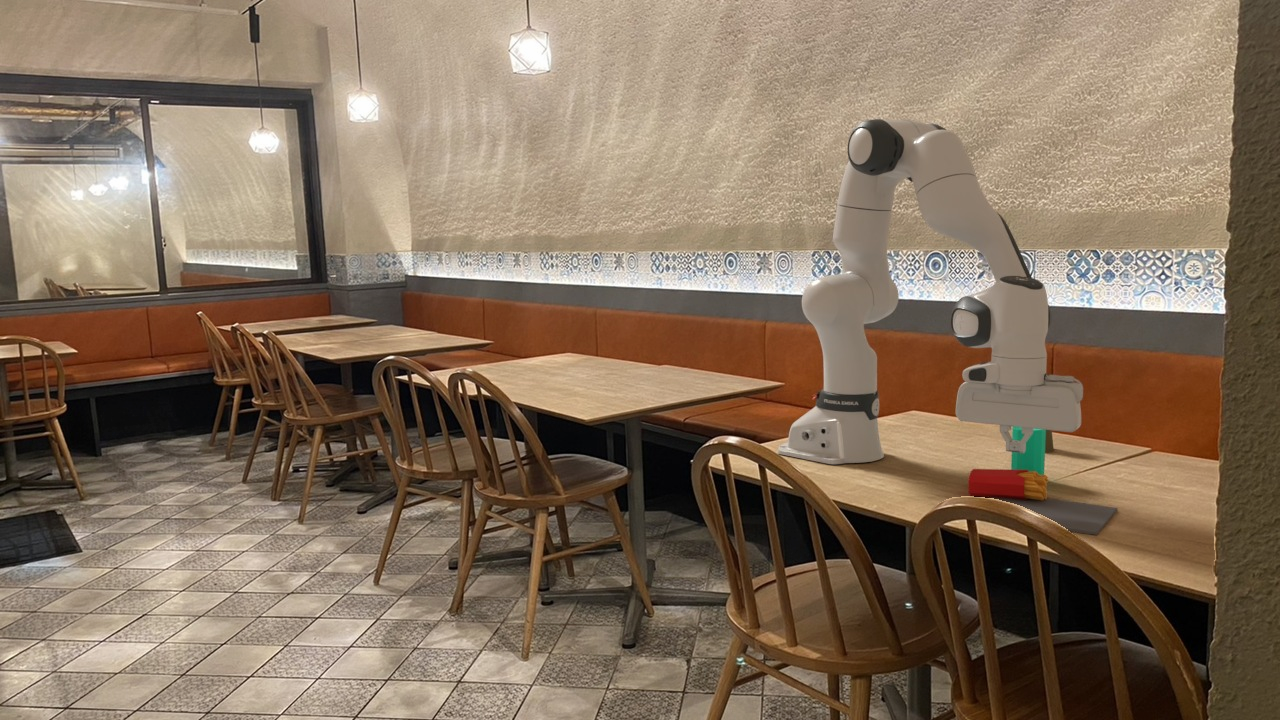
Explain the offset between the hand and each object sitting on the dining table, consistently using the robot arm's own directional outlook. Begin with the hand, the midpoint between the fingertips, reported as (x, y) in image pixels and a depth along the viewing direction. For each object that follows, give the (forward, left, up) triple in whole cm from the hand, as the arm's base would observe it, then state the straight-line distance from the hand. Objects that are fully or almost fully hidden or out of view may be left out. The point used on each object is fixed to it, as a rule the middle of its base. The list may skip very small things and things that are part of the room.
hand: (1015, 451), depth 171 cm
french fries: (-9, +6, -8) cm, 14 cm away
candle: (-3, +20, -10) cm, 23 cm away
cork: (-8, +48, -10) cm, 50 cm away
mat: (+5, 0, -10) cm, 11 cm away
